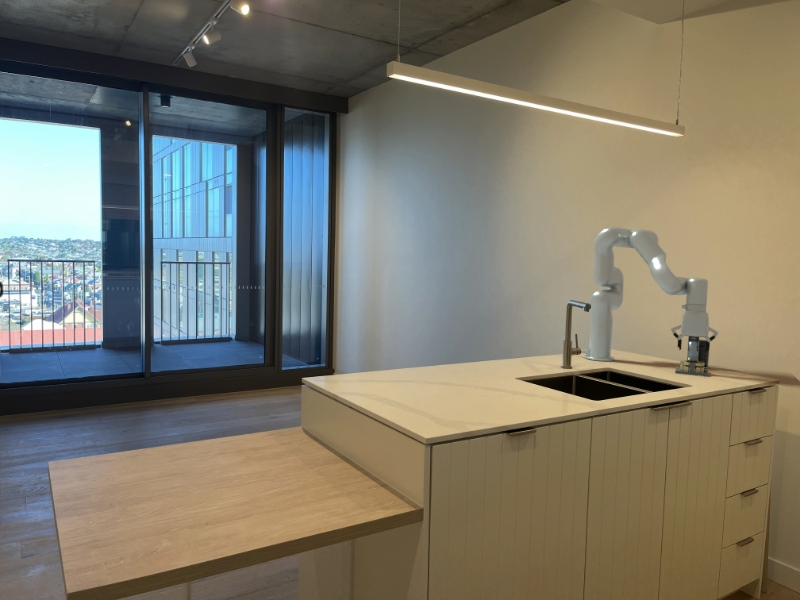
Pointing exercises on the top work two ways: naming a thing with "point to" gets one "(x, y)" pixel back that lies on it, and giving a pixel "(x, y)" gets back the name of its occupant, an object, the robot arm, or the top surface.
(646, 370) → the top surface
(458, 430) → the top surface
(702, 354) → the supplement bottle
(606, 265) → the robot arm
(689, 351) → the steel tube
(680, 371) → the firebox
